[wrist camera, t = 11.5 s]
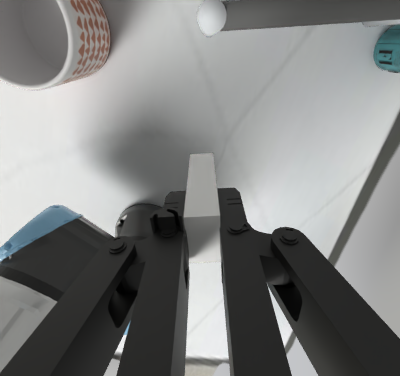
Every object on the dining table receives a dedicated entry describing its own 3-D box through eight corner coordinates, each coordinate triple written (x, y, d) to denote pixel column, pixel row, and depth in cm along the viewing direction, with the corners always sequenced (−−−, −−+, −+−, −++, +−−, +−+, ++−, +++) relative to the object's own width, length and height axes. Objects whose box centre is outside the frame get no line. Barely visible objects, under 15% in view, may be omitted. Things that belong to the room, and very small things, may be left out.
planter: (3, 23, 36) (-82, 15, 26) (51, -58, 32) (-30, -109, 21) (78, 95, 42) (34, 113, 31) (129, 35, 37) (98, 33, 26)
